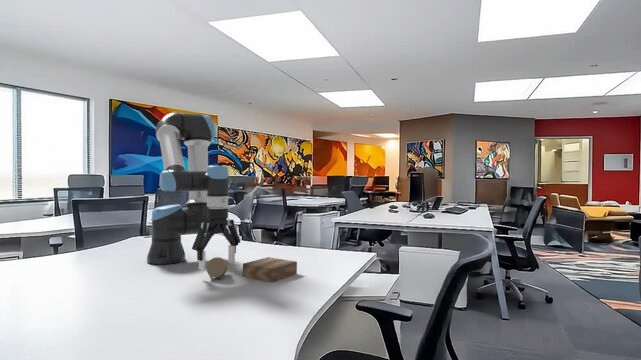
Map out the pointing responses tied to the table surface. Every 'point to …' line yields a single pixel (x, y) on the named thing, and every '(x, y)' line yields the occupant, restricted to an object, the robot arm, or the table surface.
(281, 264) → the riser block
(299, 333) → the table surface
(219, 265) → the brown round piece
